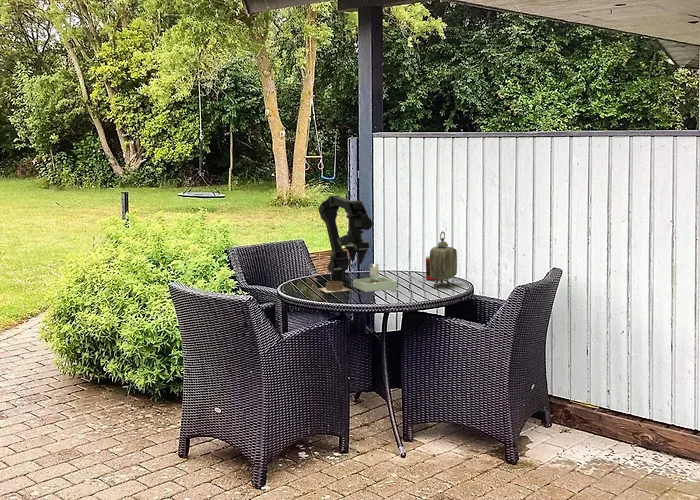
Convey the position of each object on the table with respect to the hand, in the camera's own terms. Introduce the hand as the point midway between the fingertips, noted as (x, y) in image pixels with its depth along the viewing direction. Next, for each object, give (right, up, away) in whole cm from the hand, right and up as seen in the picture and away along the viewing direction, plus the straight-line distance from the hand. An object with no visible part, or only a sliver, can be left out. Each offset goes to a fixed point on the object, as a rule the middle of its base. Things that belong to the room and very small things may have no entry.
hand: (356, 262), depth 356 cm
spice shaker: (+8, -12, -5) cm, 15 cm away
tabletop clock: (+40, -11, 0) cm, 42 cm away
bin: (+8, -13, -5) cm, 16 cm away
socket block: (-10, -13, -5) cm, 17 cm away
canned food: (+38, -9, +19) cm, 43 cm away
